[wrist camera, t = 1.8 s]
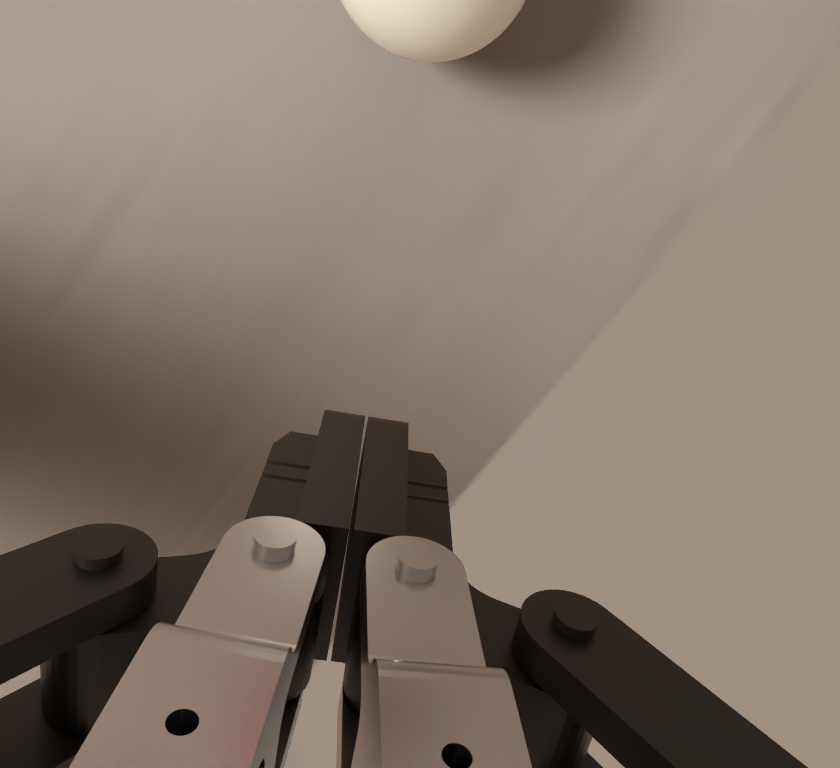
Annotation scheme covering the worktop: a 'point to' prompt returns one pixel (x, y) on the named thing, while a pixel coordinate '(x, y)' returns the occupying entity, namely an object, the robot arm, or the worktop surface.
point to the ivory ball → (433, 25)
